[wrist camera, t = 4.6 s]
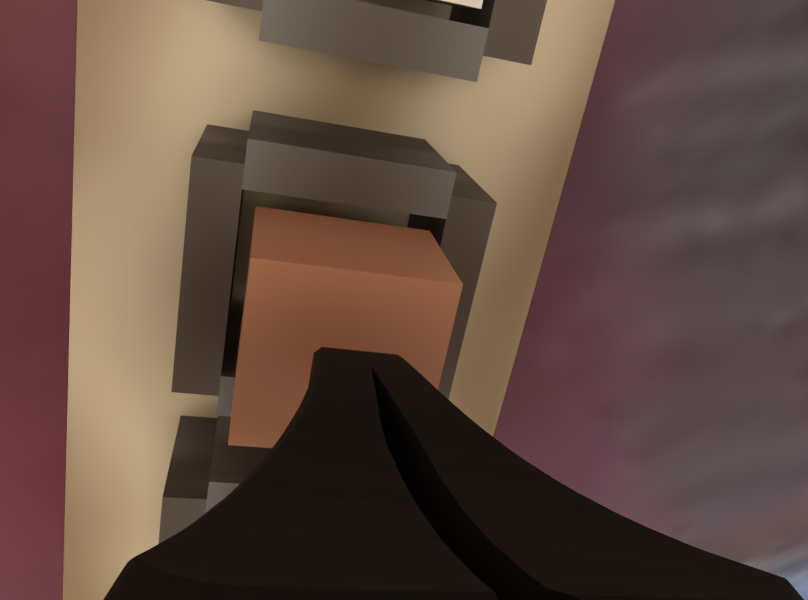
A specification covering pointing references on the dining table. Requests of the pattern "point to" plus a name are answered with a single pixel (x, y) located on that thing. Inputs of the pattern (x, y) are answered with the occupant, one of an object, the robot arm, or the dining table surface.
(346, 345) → the terracotta button
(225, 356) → the button panel
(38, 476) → the dining table surface
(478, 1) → the offwhite button
